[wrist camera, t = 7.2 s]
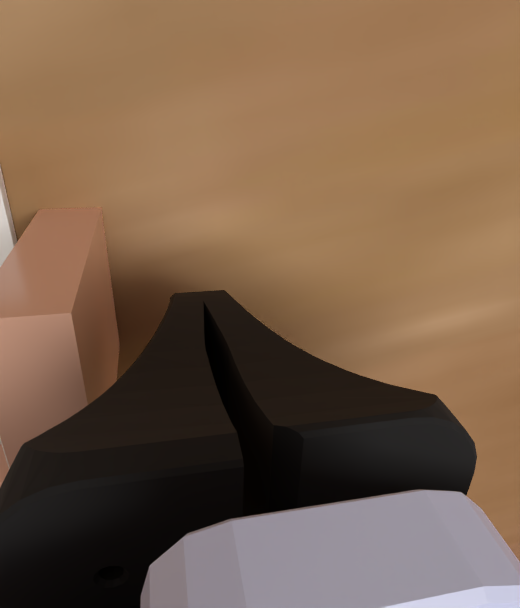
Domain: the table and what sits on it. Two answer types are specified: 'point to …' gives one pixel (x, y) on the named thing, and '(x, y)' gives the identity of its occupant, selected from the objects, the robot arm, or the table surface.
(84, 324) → the tile
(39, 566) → the robot arm
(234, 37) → the table surface
